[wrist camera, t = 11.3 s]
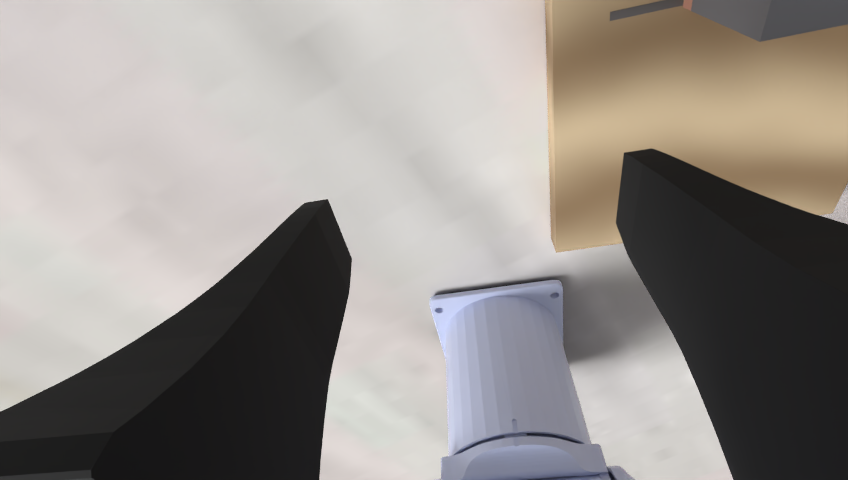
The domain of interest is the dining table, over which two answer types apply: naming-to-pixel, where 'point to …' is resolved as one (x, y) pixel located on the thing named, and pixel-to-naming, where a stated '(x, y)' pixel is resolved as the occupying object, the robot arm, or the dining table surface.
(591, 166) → the board
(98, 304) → the dining table surface
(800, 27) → the block
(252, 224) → the dining table surface
